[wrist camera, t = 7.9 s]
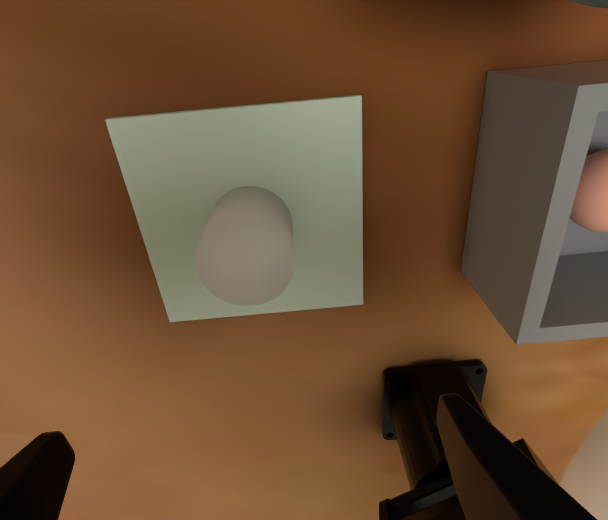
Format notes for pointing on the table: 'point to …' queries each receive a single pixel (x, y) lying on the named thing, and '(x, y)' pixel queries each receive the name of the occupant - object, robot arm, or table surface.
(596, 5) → the flower pot
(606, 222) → the visible ball
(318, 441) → the table surface
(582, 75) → the storage box
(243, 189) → the lid
